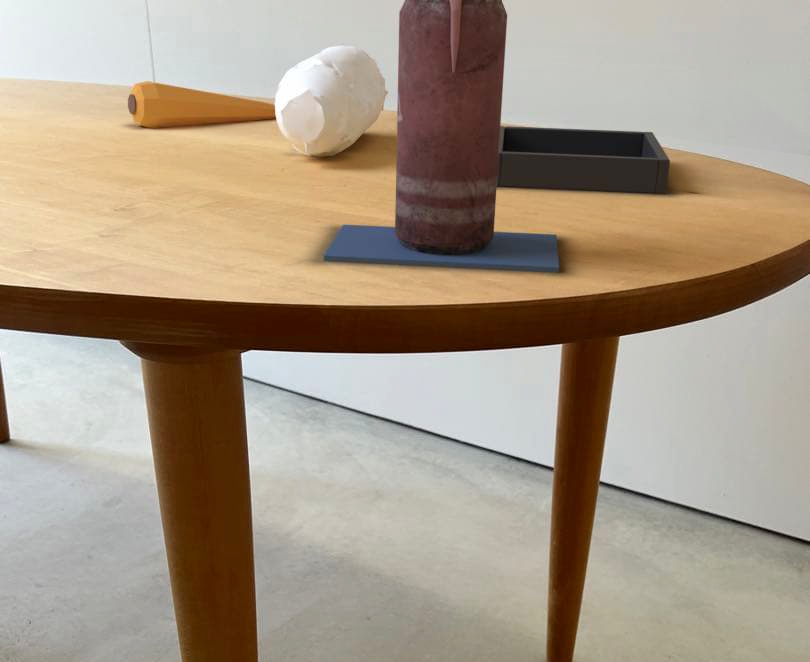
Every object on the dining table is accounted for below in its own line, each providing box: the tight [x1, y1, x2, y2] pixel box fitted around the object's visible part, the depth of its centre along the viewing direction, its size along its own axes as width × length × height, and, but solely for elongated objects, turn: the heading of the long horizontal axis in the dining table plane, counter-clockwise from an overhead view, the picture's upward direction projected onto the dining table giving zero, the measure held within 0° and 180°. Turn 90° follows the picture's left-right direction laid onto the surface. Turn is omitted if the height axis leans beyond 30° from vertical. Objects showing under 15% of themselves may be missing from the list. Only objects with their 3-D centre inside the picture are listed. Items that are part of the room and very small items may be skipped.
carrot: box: [127, 80, 276, 129], centre depth 112 cm, size 20×4×4 cm, turn 123°
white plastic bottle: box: [274, 44, 389, 158], centre depth 97 cm, size 8×19×8 cm, turn 172°
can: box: [394, 0, 508, 255], centre depth 66 cm, size 6×6×14 cm
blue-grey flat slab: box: [322, 224, 560, 274], centre depth 69 cm, size 14×8×1 cm, turn 84°
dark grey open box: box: [497, 125, 671, 196], centre depth 91 cm, size 14×14×3 cm
